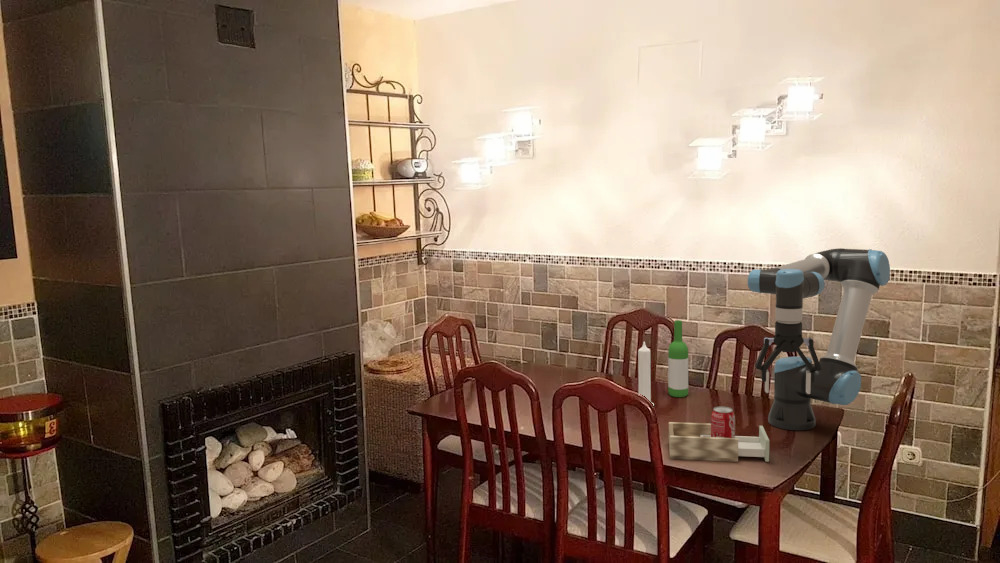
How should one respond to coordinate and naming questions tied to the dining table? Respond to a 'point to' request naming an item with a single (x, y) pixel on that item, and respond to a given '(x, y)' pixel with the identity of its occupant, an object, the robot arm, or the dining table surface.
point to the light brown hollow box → (700, 443)
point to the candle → (644, 372)
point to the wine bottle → (678, 364)
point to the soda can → (723, 422)
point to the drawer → (753, 445)
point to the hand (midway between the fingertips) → (787, 392)
